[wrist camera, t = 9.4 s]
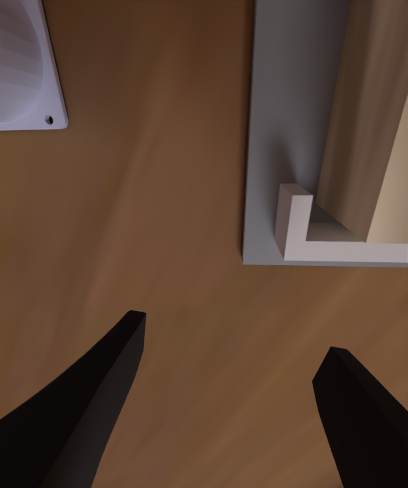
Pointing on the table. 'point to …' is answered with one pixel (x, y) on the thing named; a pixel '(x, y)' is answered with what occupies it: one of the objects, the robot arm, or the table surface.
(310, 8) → the board
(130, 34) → the table surface
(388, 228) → the beige rectangular block
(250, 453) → the table surface
